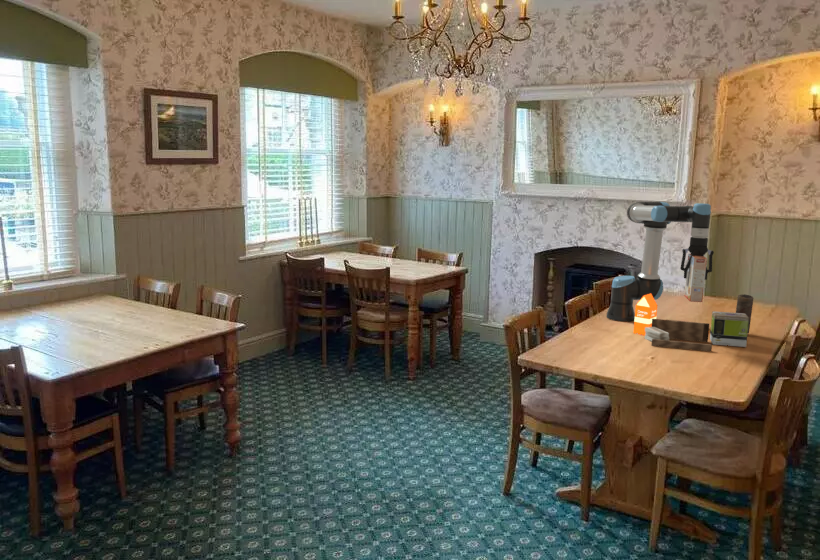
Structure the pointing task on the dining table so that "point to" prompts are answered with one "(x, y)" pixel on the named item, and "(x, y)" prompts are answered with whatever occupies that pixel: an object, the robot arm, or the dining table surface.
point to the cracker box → (696, 278)
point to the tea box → (729, 329)
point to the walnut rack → (683, 334)
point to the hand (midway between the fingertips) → (694, 285)
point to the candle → (745, 306)
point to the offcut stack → (655, 334)
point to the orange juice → (644, 313)
